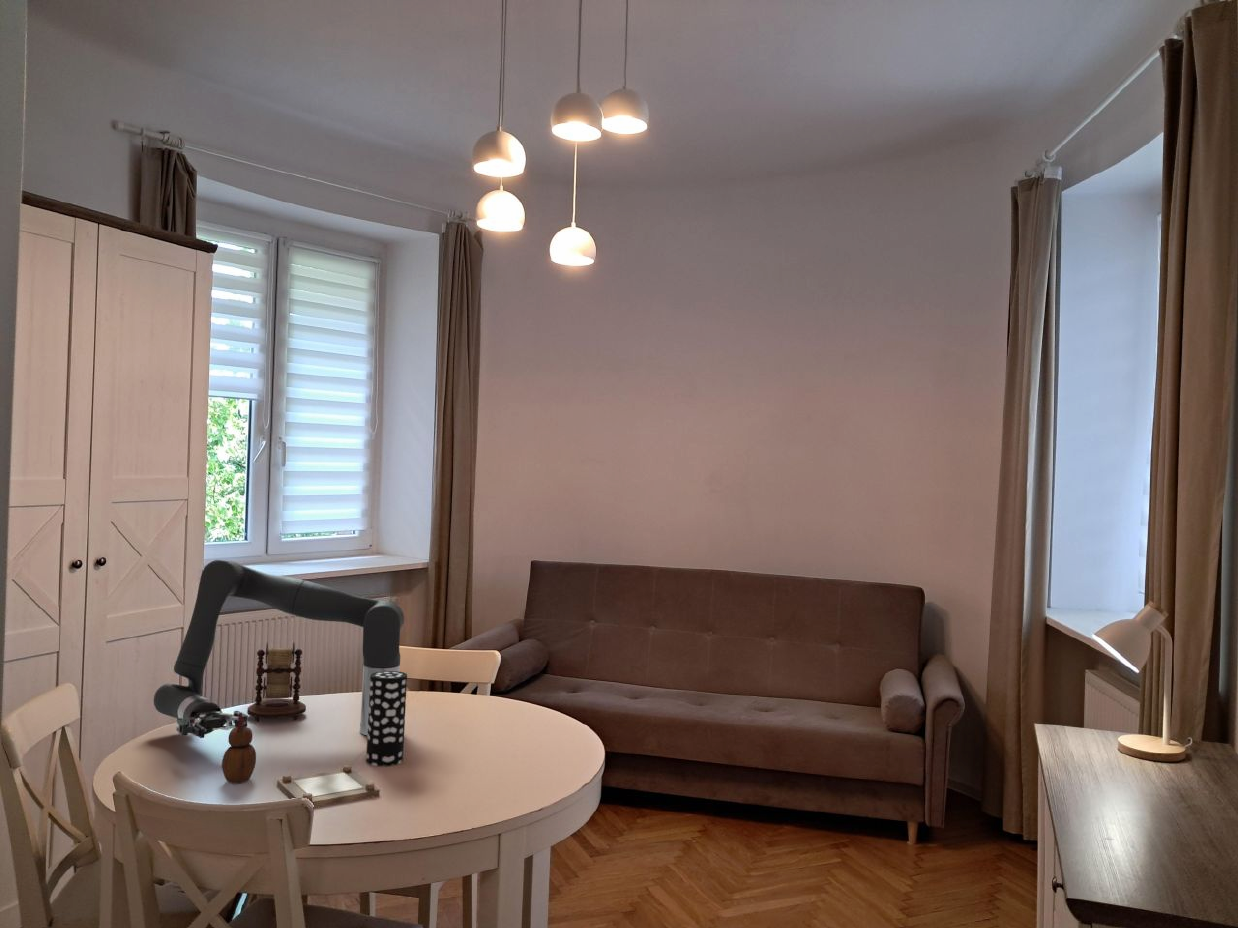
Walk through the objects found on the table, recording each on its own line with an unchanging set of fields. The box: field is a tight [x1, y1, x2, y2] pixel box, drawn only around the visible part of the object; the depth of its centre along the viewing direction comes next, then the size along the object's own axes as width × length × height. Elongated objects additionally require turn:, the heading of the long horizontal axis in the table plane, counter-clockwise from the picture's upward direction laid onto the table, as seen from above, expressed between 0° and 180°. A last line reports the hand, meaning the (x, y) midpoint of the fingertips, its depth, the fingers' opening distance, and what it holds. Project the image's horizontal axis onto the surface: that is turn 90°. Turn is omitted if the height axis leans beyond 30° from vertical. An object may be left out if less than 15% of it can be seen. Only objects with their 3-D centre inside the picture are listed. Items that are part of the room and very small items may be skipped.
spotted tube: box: [365, 671, 408, 767], centre depth 211 cm, size 8×8×20 cm
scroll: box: [246, 641, 307, 723], centre depth 244 cm, size 15×15×20 cm
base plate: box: [276, 764, 381, 808], centre depth 189 cm, size 16×16×2 cm
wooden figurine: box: [221, 711, 257, 784], centre depth 193 cm, size 7×6×15 cm
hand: (223, 730), depth 201 cm, fingers open, 8 cm apart
